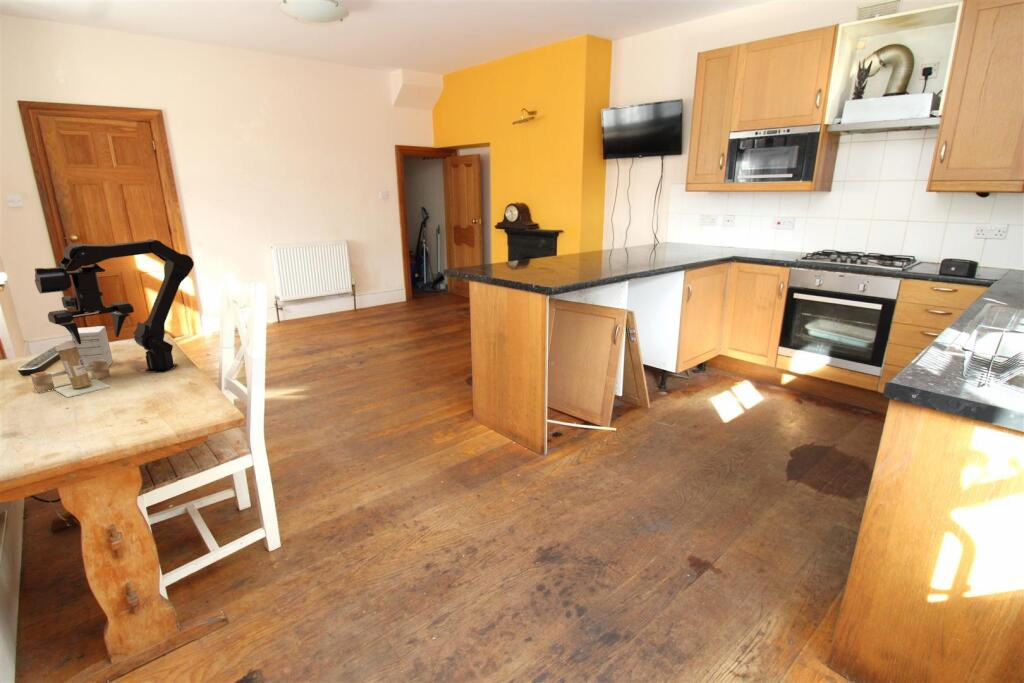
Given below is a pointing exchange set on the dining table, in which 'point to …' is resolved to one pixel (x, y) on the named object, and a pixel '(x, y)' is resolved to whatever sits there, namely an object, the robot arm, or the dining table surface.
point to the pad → (81, 388)
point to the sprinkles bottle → (73, 364)
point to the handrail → (44, 379)
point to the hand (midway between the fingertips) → (98, 340)
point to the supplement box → (94, 345)
